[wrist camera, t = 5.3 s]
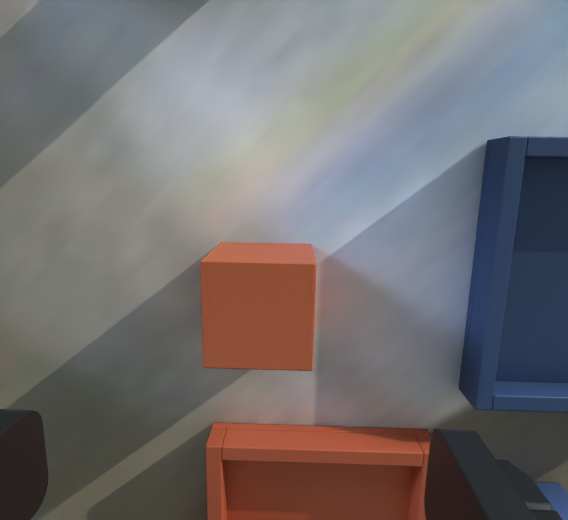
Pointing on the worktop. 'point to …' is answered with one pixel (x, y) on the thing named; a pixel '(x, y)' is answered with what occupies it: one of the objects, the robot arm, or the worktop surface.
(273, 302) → the terracotta block
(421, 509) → the terracotta tray
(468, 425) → the worktop surface
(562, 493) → the blue block
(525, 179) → the blue tray
